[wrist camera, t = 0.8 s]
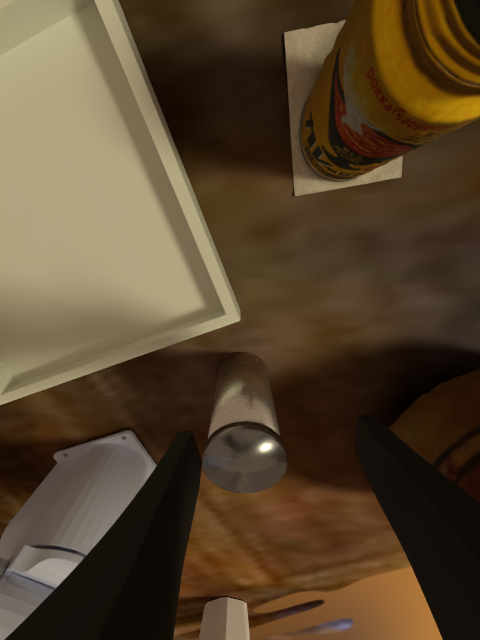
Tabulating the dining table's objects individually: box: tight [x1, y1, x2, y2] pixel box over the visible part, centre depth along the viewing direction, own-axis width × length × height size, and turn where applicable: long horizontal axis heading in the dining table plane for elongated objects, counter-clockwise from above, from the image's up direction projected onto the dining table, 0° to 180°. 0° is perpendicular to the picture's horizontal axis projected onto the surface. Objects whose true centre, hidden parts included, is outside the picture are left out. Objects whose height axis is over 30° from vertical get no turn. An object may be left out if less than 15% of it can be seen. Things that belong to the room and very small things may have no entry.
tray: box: [0, 0, 240, 405], centre depth 16 cm, size 22×20×2 cm
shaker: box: [203, 352, 287, 493], centre depth 17 cm, size 5×5×9 cm
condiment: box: [284, 0, 480, 196], centre depth 9 cm, size 7×8×12 cm
